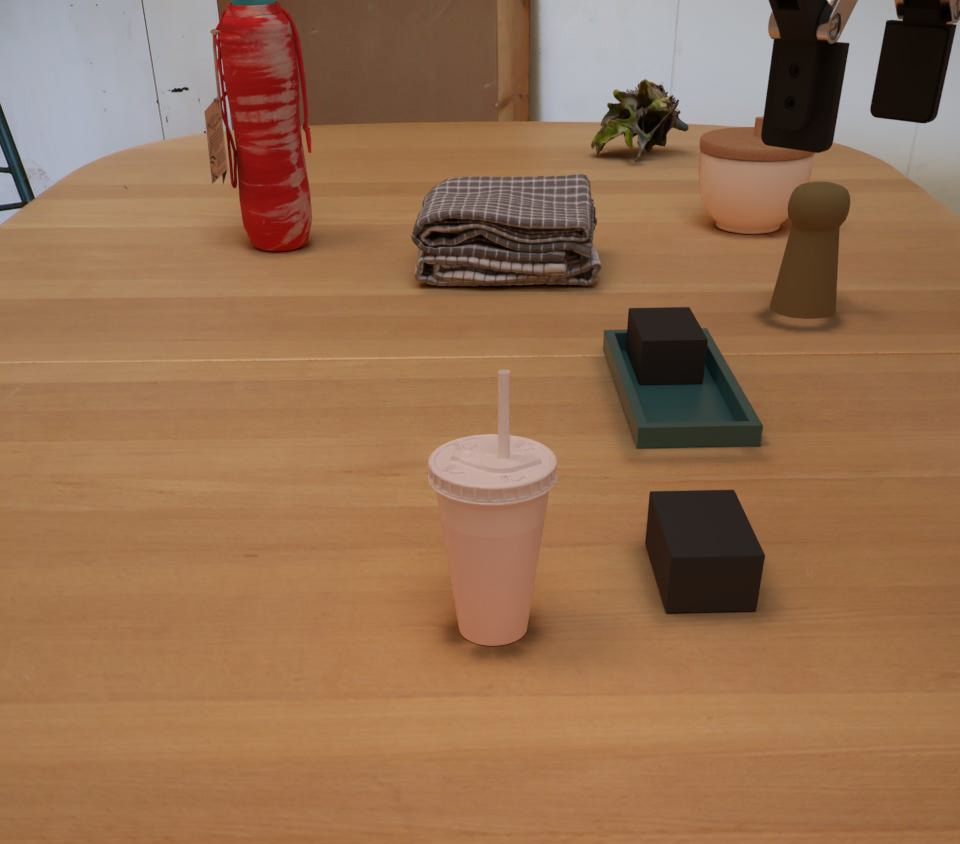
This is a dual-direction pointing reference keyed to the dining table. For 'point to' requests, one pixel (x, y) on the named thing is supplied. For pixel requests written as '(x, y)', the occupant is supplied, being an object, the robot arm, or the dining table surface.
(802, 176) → the lidded bowl
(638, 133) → the green leafy plant
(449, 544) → the smoothie
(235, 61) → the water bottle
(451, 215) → the towel
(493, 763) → the dining table surface
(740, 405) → the tray
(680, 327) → the dark brown rectangular block
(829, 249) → the pepper mill
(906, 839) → the dining table surface
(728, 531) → the black rectangular block
